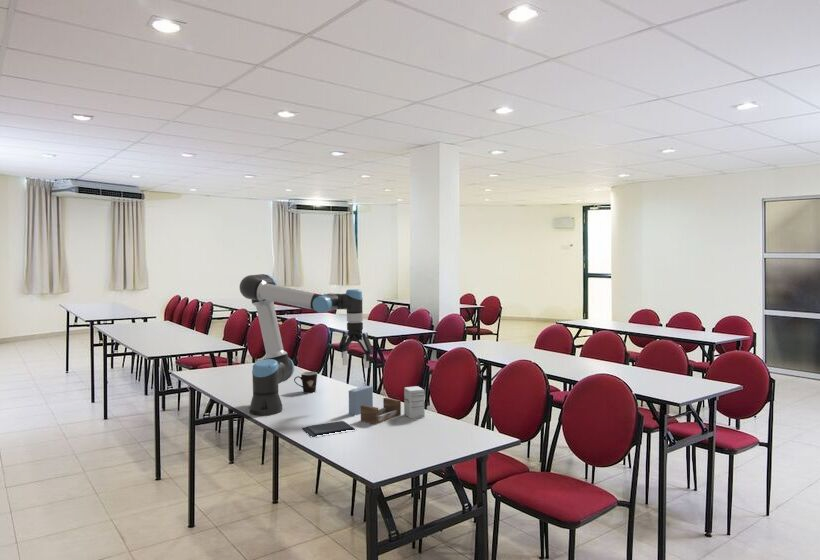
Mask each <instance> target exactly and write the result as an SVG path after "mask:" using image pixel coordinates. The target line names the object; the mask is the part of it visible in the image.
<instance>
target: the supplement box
mask: <svg viewBox="0 0 820 560" xmlns="http://www.w3.org/2000/svg"><path fill="white" fill-rule="evenodd" d="M403 389H404V390H403V392H404V393H403V397H404V398H403V399H404V400H403V401H404V402H403V404H404V405H403V406H404V407H403V408H404V409H403V410H404V411H403V412H404V414H403V415H405V416H406V417H408V419H409V420H410V419H420V418H424V417H425V389H423V388H422V387H420V386H419V385H418V386H417V385H414V386H406V387H404V388H403Z"/></svg>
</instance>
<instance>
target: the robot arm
mask: <svg viewBox="0 0 820 560" xmlns="http://www.w3.org/2000/svg"><path fill="white" fill-rule="evenodd" d="M239 291H240V294H241V295H242V296H243V297H244V298H245V299H247V300H251V304H252V305H253V306H255V307H256V312H257V317H258V322H259V327H260V332H261V336H262V340H263V345H264V351H265V355H264V357H263V359H262V360H257V361H255V362H254V363H253V365H252V370H251V374H252V397H251V401H250V405H249V407H248V409H249V410H248V411H249V414H251V415H254V416H270V415H275V414H279V413H281V412H282V411H283V403H282V400H281V398H280V395H279V384H281V383H284V382H286V381H287V380H289V379H290V378H291V377H292V376H293V374H294V372H295V364H294V362H293V360H292V359H291V358H290V357H289V354H288V352H287V351H285V350H284V344H283V342H282V341H283V340H282V336H281V332H280V327H279V326H280V325H279V323H278V318H277V313H276V308H275V302H276V303H279V304H283V305H289V306H290V305H291V306H295V307H298V308H299V307H300V308H303V309H308V310H312V311H315V312H317V313H320V314H321V313H322V314H323V313H327V312H330V311H335V310H346V330H344V331H342V336H341V339H340V342H339V344H338V347H337V350H339V351H340V352H341V358H342V366H346V365H348V363H349V361H348V360H349V357H348V350H347V349H348V348H349V346H350V345H351V343H352V342H354V343H357V344H358V345H360V346H359V347H360V348H361V349H362V351H363V353H364V354H363V368H364V369H367V368H368V369H369V368H370V361H371V354H372V353H373V354H374V349H373V347H372V344H371V341H370V338H369V334H368V332H363V329H364V323H363V321H364V318H363V317H364V315H363V291H362V290H361V289H359V288H355V289H346V291H345V293H331V292H329V293H324V294H320V293H315V292H310V291H304V290H301V289H295V288H290V287H286V286H281V285H277V281H276V280H275V278H274V277H273V276H271V275H269V274H263V273H261V274H260V273H259V274H250V275H246V276H244V277H243V278H242V279H241V281H240V284H239Z"/></svg>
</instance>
